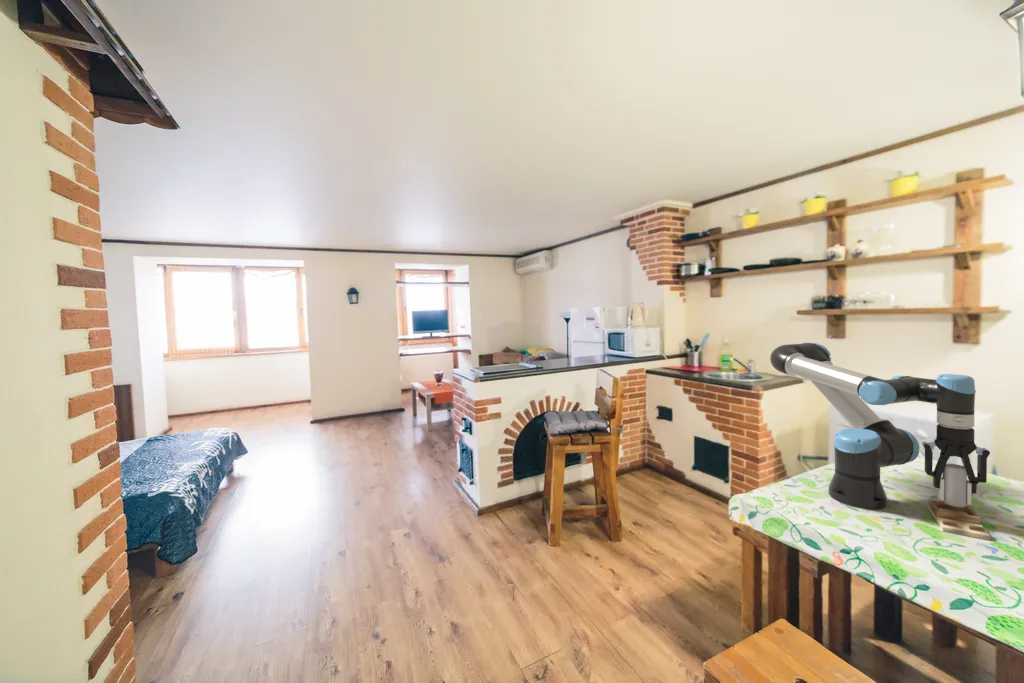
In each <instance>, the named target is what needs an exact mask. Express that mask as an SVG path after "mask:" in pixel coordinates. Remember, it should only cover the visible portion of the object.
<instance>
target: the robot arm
mask: <svg viewBox="0 0 1024 683" xmlns="http://www.w3.org/2000/svg"><path fill="white" fill-rule="evenodd" d="M831 356H832V355H831V353H830V351H829V350H828V348H827V347H826V346H824V345H823V344H820V343H816V342H804V343H793V344H782V345H779V346H777V347H776V348H774V349H773V351H772V352H771V354H770V358H769V360H770V364H771V366H772V367H773V369H775V370H776V371H778V372H779V373H782V374H785V375H788V376H791V377H796V376H798V377H801V378H802V379H803V380H806V381H810V382H811V383H812V384H813V385H814V386H815V387H816V388H817V389H818V390H819V392H820V393H821V394H822V396H823V397H825V398H826V400H827V401H828V402H829V403H830V405H832V406H833V407H834V408H835V410H836V411H837V412H838V413H839V414H840V415H841V417H843V419H844V420H845V421H846V422H847V423H848V424H849V425H850V426H851V428H844V429H841V430H839V431H837V432H836V433H835V437H834V441H833V445H834V446H833V447H834V474H833V476H832V479H831V481H830V483H829V485H828V495H829V496H830V497H831V498H832V499H834V500H836V501H838V502H840V503H842V504H845V505H848V506H851V507H852V506H853V507H856V508H861V509H862V508H863V509H871V510H880V509H884V508H886V507H888V497H887V494H886V492H885V489H884V486H883V484H882V483H881V482H882V481H881V468H884V467H885V468H886V467H891V466H892V467H893V466H900V465H906V464H907V463H911V462H913V461H915V460H916V459H917V458H918V457H919V455H920V448H921V447H920V443H919V441H918V439H917V438H916V436H915V435H914V434H912V433H911V432H909V431H908V430H906V429H902V428H899V427H896V426H895V425H894V424H893V423H892V422H891V421H890V420H888V419H885V418H880V417H879V416H878V415H877V414H876V413H875V411H874V410H872V408H871V407H869V405H872V406H886V405H891V404H892V405H893V404H898V403H899V404H900V403H907V402H923V403H929V404H936V423H937V425H936V436H935V439H934V441H931V442H927V441H923V442H922V446H923V448H924V473H926V475H927V476H930V477H932V484H933V487H934V488H935V489H937V497H938V498H939V501H942V500H943V501H944V479H943V471H944V468H945V466H946V464H947V463H948V461H949V459H950V458H951V457H957V458H960V459H961V461H962V462H961V463H962V466H964V467H965V468H966V470H967V479H968V480H967V487H966V505H968V506H971V505H972V494H974V495H976V494H977V485H978V484H980V483H981V484H982V483H983V484H986V483H987V477H988V476H987V474H988V472H987V471H988V470H987V468H988V466H987V465H988V463H987V462H988V458H989V456H990V454H991V452H990V451H989V449H987V448H986V447H979V446H977V444H975V429H974V427H975V403H976V401H975V400H976V393H977V391H976V386H975V385H976V384H975V379H974V378H973V377H972V376H971V375H970V376H969V375H966V374H965V375H964V374H953V373H951V374H950V373H943V374H939V375H937V377H936V379H931V378H924V377H915V376H910V375H894V376H893V377H892V378H890V379H883V378H878V377H875V376H872V375H868V374H865V373H861V372H857V371H855V370H851V369H847V368H844V367H840V366H837V365H833V364H834V363H833V362H832V357H831ZM935 447H937V448H938V449H939V450H940V453H939V457H938V460H937V462H936V464H935V466H934V469H933V451H934V450H935ZM973 452H976V454H977V466H976V467H977V468H976V469H977V470H976V471H977V473H976V474H977V475H975V470H974V469H973V466H972V463H971V459H970V456H969V455H971V454H972V453H973Z"/></svg>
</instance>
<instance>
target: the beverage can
mask: <svg viewBox="0 0 1024 683" xmlns="http://www.w3.org/2000/svg"><path fill="white" fill-rule="evenodd" d="M942 478H943V479H944V501H943V500H941V501H943V502H944V503H945V504H947V505H950V506H953V507H959V508H963V507H965V506H966V505H967V503H966V487H967V479H968V477H967V470H966V468H965V467H964V465H960V464H956V463H949V462H947V463H946V466H945V468H944V471H943V473H942Z"/></svg>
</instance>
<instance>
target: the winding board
mask: <svg viewBox="0 0 1024 683" xmlns="http://www.w3.org/2000/svg"><path fill="white" fill-rule="evenodd" d="M928 502H929V503H927V509H928V511H929V512H930V513H931V515H932V517H933V518H934V520H935V522H936V523H937V525H938V526H939V527H940V530H942V532H944V533H945V532H946V533H951V534H954V535H955V534H956V535H961V536H966V537H971V538H976V539H981V540H987V541H991V539H992V538H991V534H989V533H988V531H987V530H986V528H985V527H983V525H982V524H981V517H980V516H979V515H978V514H977V512H975V510H974V509H973V507H971V505H968V504H966V506H965V507H963V508H959V507H953V506H950V505H947V504H945V503H944V502H943V501H942V500H938V499H937V500H936V499H931V498H929V500H928Z"/></svg>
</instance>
